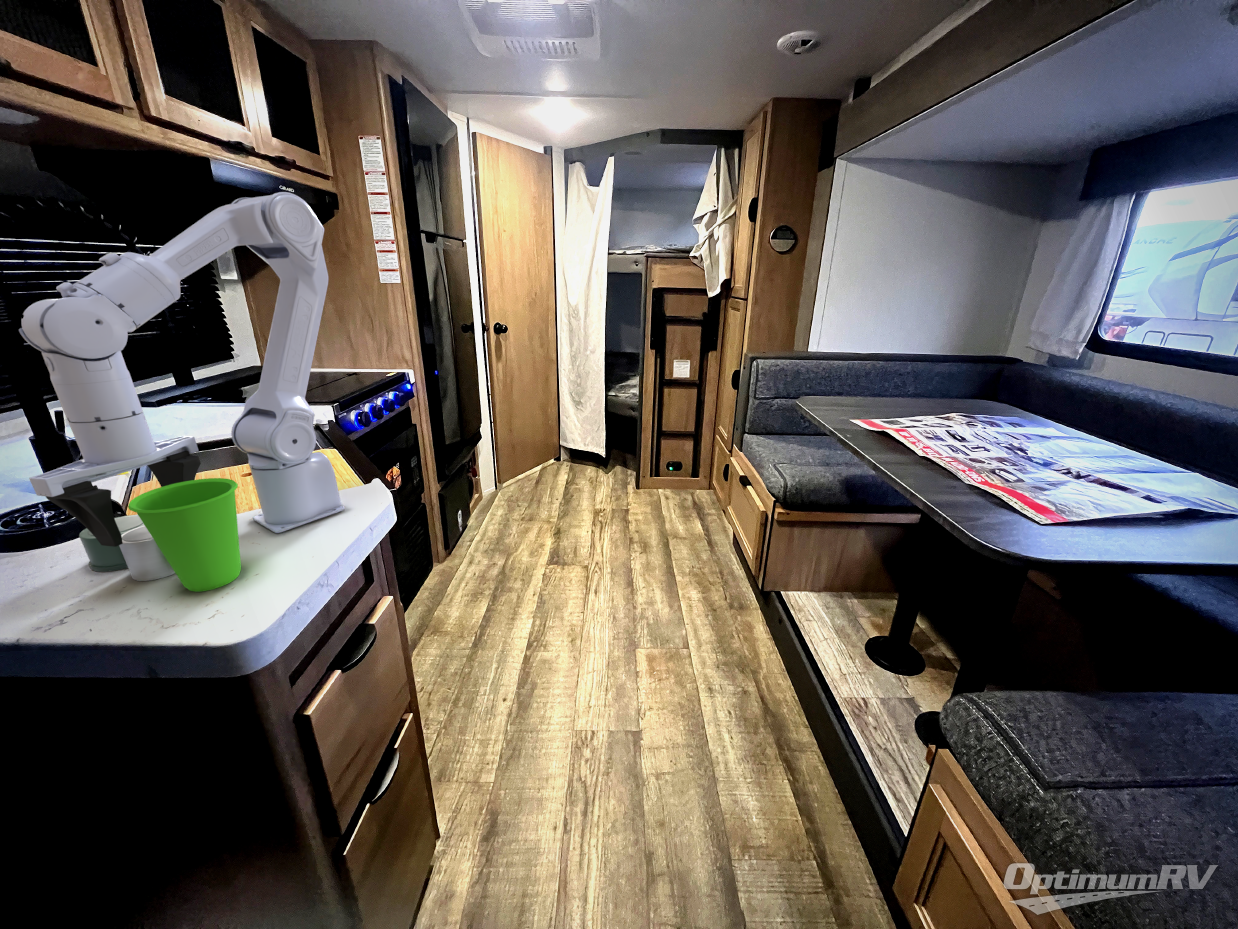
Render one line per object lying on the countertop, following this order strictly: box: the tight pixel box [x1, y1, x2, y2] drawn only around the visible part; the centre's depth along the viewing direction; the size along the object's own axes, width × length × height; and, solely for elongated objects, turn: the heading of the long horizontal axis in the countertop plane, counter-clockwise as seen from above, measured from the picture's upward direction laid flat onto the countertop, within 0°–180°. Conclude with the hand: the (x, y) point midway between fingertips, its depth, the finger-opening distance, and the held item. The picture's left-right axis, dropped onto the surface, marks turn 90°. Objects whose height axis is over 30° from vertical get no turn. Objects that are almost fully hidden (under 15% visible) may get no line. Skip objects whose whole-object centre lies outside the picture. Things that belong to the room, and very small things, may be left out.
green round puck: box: [78, 514, 145, 573], centre depth 59 cm, size 7×7×4 cm
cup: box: [127, 477, 242, 593], centre depth 54 cm, size 9×9×11 cm
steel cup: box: [119, 526, 176, 582], centre depth 57 cm, size 5×5×5 cm
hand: (149, 528), depth 56 cm, fingers open, 7 cm apart
